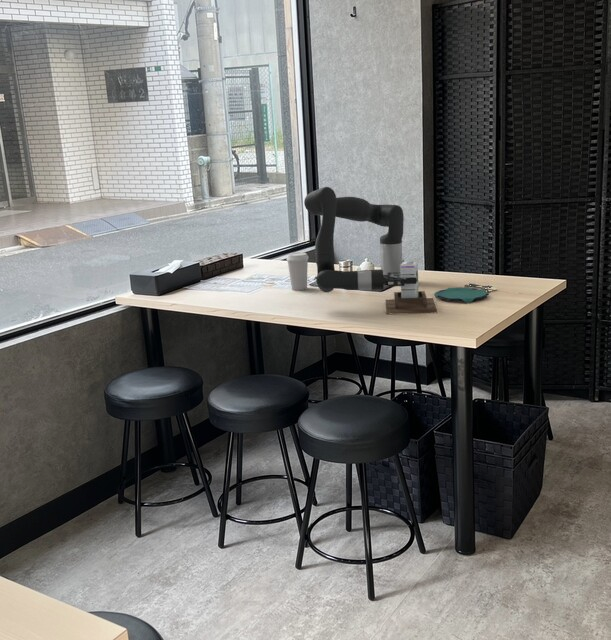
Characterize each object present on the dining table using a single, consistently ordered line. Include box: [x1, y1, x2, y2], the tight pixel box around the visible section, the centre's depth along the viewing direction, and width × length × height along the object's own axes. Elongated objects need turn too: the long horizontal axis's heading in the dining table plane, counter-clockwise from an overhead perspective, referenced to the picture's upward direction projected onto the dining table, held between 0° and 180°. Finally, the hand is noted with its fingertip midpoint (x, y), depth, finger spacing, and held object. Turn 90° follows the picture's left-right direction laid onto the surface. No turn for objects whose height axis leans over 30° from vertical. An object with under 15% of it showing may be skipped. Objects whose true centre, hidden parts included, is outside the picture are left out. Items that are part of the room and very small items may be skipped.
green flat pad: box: [433, 282, 493, 304], centre depth 301 cm, size 20×30×2 cm, turn 137°
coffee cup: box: [286, 252, 310, 291], centre depth 328 cm, size 10×10×15 cm
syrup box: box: [400, 260, 419, 298], centre depth 284 cm, size 6×6×14 cm
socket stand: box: [385, 290, 438, 315], centre depth 286 cm, size 18×18×5 cm
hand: (415, 278), depth 284 cm, fingers closed on syrup box, 6 cm apart
